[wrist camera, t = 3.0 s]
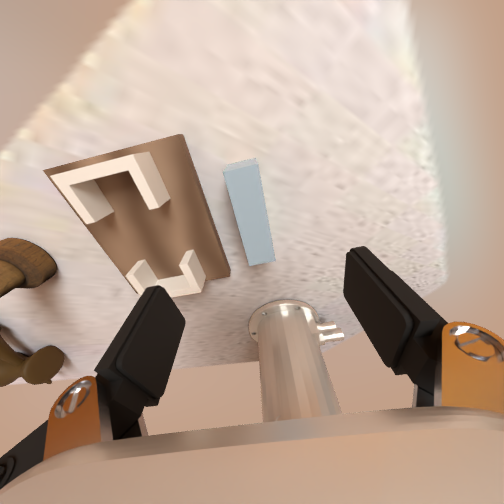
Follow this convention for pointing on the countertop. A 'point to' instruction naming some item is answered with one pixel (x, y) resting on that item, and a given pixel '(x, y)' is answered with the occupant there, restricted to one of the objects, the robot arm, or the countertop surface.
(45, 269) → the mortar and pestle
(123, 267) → the board
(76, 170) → the end caps
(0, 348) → the kendama
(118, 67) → the countertop surface
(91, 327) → the countertop surface
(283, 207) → the countertop surface
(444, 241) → the countertop surface
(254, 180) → the light blue rectangular block
